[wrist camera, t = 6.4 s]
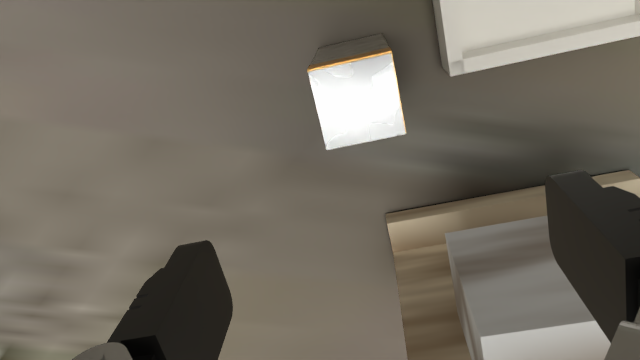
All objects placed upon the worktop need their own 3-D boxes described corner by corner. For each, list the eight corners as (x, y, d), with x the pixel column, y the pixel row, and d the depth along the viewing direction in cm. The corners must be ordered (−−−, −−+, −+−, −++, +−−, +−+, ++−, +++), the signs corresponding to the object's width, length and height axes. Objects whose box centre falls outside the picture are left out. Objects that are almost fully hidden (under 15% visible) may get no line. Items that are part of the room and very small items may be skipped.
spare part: (317, 47, 32) (306, 71, 25) (383, 32, 31) (392, 51, 24) (331, 110, 33) (325, 151, 26) (394, 97, 33) (407, 134, 25)
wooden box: (377, 171, 35) (402, 390, 17) (628, 123, 33) (968, 315, 15) (400, 286, 38) (442, 571, 20) (630, 249, 36) (910, 532, 18)
